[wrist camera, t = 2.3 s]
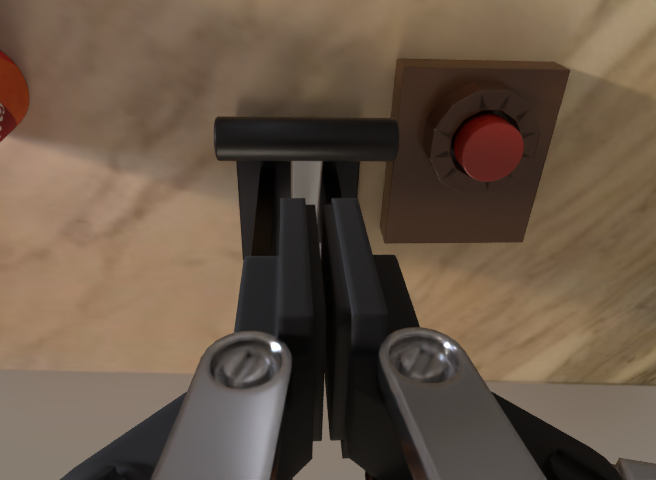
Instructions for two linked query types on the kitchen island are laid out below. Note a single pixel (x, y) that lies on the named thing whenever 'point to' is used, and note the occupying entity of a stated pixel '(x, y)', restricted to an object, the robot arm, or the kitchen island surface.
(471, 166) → the button
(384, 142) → the tap lever
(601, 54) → the kitchen island surface
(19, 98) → the paper cup
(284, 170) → the bracket
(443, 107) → the button block
